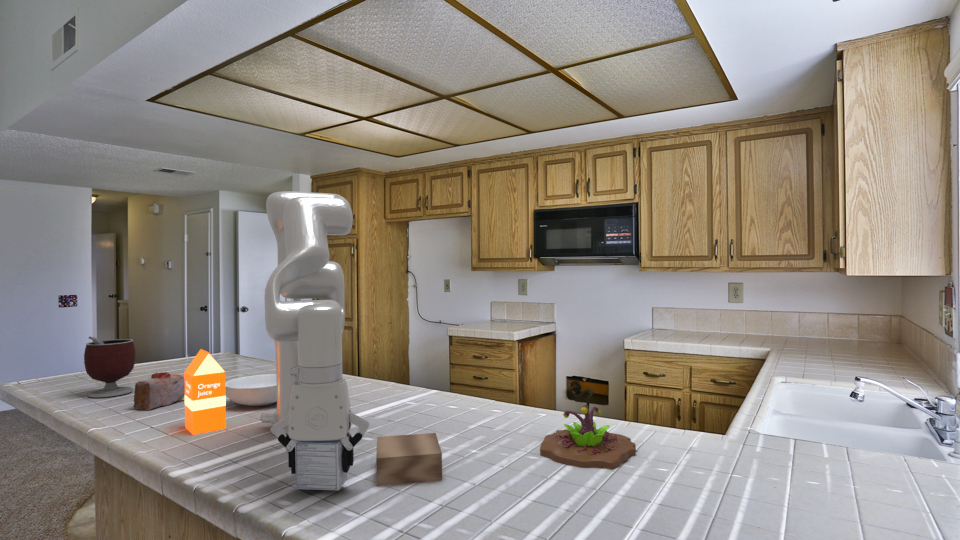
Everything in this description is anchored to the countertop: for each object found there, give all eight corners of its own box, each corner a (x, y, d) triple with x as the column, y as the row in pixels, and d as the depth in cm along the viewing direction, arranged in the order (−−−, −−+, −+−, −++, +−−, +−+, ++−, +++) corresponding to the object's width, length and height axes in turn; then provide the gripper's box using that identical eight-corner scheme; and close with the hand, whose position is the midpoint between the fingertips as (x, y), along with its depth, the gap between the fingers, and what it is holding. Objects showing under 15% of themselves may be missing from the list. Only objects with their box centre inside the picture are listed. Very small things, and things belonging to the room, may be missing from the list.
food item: (169, 398, 162) (168, 367, 162) (190, 399, 160) (189, 368, 160) (130, 409, 148) (130, 376, 148) (153, 411, 147) (152, 377, 147)
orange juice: (192, 435, 124) (191, 354, 124) (184, 427, 130) (183, 350, 130) (226, 429, 129) (225, 350, 129) (217, 421, 136) (216, 346, 136)
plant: (526, 463, 105) (526, 409, 105) (556, 435, 123) (555, 388, 123) (625, 479, 96) (624, 420, 96) (641, 446, 114) (641, 396, 114)
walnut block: (376, 491, 92) (376, 458, 92) (377, 466, 104) (377, 436, 104) (442, 485, 95) (441, 453, 95) (435, 461, 106) (435, 432, 106)
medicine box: (347, 480, 93) (347, 433, 92) (338, 492, 88) (338, 442, 88) (306, 479, 93) (305, 432, 93) (294, 490, 89) (294, 441, 89)
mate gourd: (106, 388, 177) (105, 330, 177) (145, 387, 176) (144, 330, 176) (69, 399, 161) (68, 336, 161) (111, 399, 161) (110, 336, 161)
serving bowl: (312, 399, 158) (312, 377, 158) (251, 416, 141) (250, 391, 141) (270, 391, 169) (270, 370, 169) (209, 406, 152) (208, 383, 152)
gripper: (262, 379, 86) (264, 480, 86) (366, 378, 87) (367, 478, 87) (277, 369, 93) (279, 463, 94) (373, 368, 94) (373, 460, 95)
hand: (321, 470), depth 91 cm, fingers closed on medicine box, 8 cm apart
